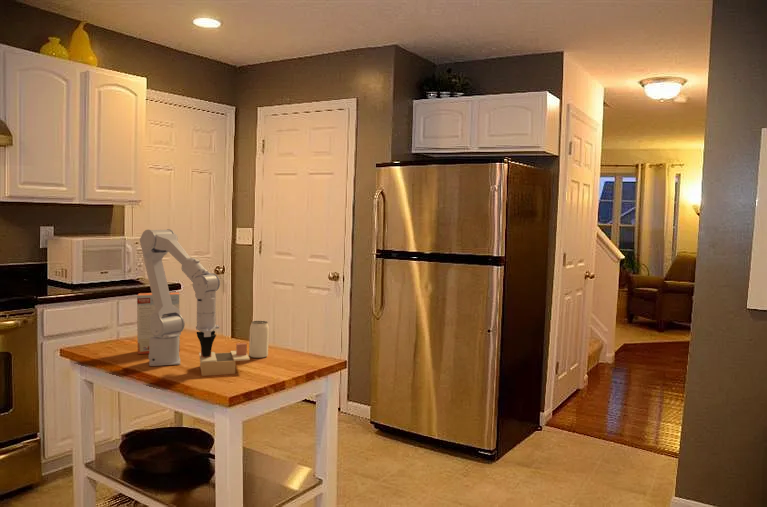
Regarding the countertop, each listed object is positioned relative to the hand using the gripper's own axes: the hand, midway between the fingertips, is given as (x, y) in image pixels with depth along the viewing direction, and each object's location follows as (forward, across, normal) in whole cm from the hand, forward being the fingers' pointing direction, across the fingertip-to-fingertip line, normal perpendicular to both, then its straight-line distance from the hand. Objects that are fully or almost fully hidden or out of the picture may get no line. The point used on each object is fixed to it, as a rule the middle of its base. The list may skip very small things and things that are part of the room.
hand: (206, 355), depth 192 cm
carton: (+5, 0, -3) cm, 6 cm away
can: (+5, +15, -18) cm, 24 cm away
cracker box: (+5, +30, +14) cm, 34 cm away
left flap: (+1, 0, -1) cm, 1 cm away
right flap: (+1, 0, -10) cm, 10 cm away
